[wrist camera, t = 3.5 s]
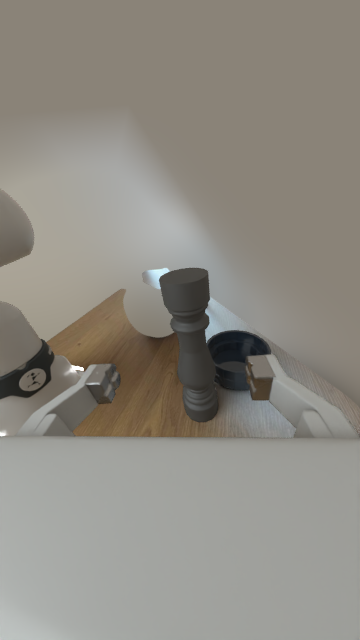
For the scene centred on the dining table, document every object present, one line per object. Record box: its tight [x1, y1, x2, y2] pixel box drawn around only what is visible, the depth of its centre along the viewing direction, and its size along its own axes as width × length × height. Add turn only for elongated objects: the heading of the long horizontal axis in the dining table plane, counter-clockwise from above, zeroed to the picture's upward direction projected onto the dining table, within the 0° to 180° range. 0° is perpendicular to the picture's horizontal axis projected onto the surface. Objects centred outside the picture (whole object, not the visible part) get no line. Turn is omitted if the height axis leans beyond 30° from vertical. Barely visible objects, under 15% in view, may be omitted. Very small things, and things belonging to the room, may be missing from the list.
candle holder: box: [159, 268, 218, 422], centre depth 27 cm, size 6×6×25 cm
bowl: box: [206, 330, 271, 390], centre depth 38 cm, size 13×13×6 cm
